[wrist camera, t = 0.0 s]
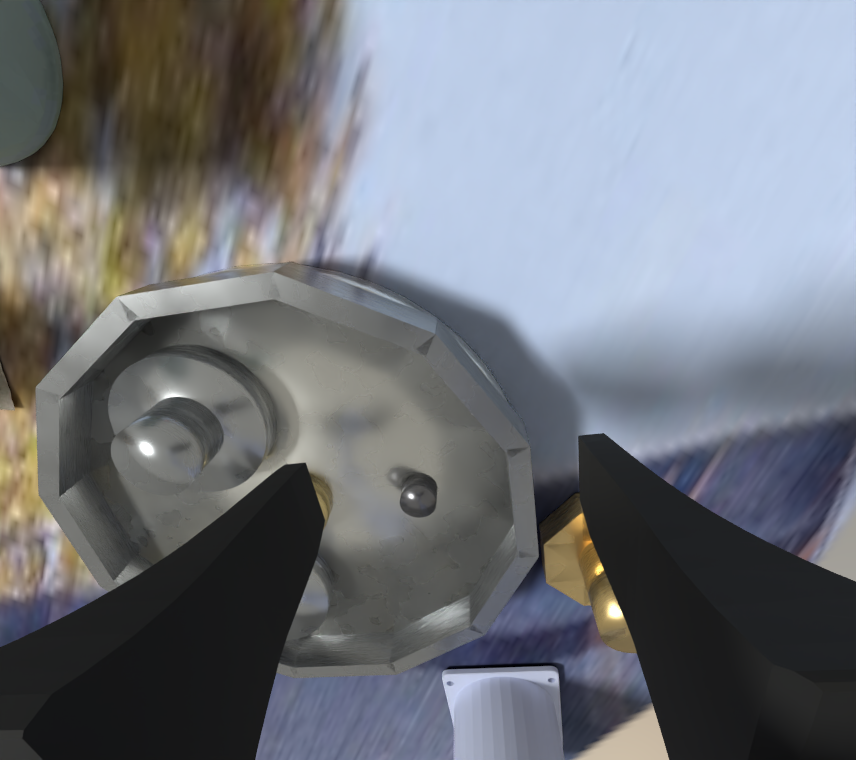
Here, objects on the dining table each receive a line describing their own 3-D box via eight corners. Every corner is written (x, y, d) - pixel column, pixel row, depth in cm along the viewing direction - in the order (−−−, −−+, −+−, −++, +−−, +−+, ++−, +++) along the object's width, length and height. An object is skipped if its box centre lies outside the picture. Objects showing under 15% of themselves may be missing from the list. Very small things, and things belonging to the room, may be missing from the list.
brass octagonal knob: (663, 578, 26) (711, 673, 21) (543, 585, 27) (562, 678, 22) (671, 484, 23) (728, 570, 18) (536, 496, 24) (556, 580, 19)
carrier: (537, 613, 28) (554, 708, 23) (194, 630, 31) (144, 717, 26) (504, 222, 18) (521, 241, 13) (5, 303, 21) (-133, 344, 16)
